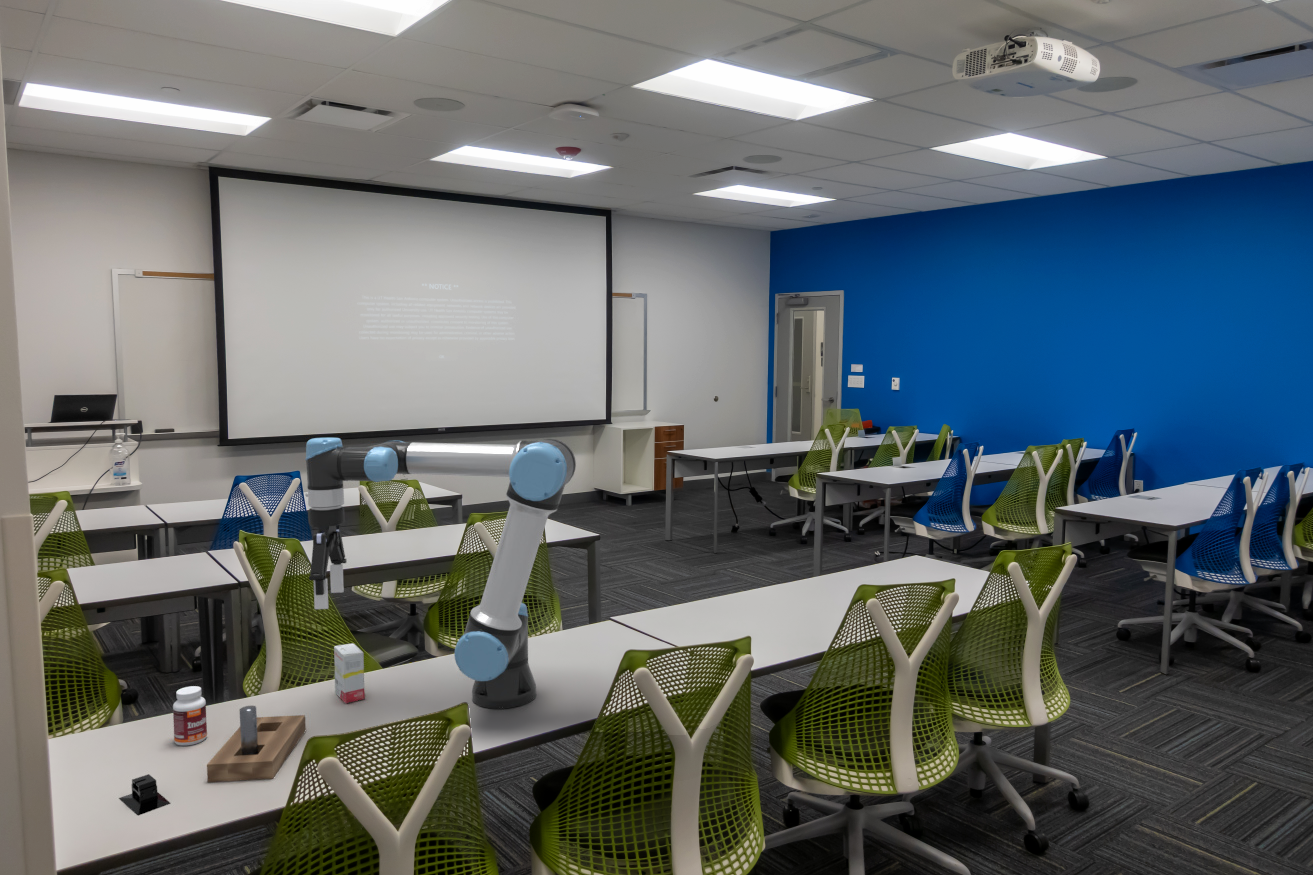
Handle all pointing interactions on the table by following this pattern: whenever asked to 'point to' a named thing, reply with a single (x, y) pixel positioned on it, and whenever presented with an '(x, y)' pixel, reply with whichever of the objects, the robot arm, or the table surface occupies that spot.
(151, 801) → the black stepped mount
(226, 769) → the socket block
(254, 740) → the pin
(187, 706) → the pill bottle
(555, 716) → the table surface
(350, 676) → the ink box
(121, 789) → the table surface
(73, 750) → the table surface
